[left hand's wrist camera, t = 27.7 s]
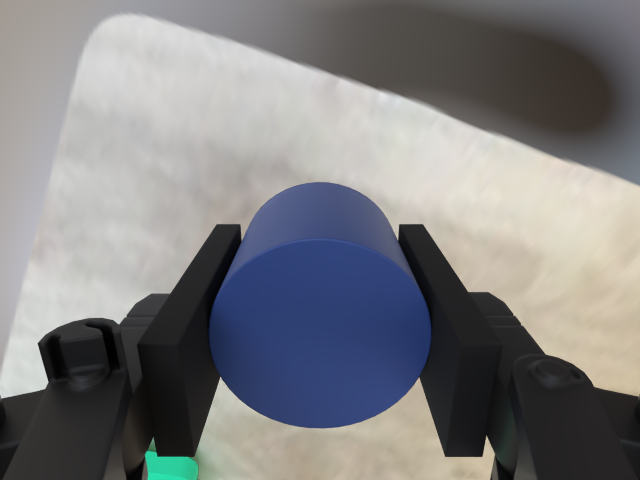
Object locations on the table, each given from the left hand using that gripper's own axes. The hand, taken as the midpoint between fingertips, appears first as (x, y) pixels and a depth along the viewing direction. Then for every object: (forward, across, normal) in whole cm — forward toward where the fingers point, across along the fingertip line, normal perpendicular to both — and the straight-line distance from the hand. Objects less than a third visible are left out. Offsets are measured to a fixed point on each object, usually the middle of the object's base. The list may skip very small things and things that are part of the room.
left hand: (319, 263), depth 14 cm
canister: (0, 0, 0) cm, 0 cm away
